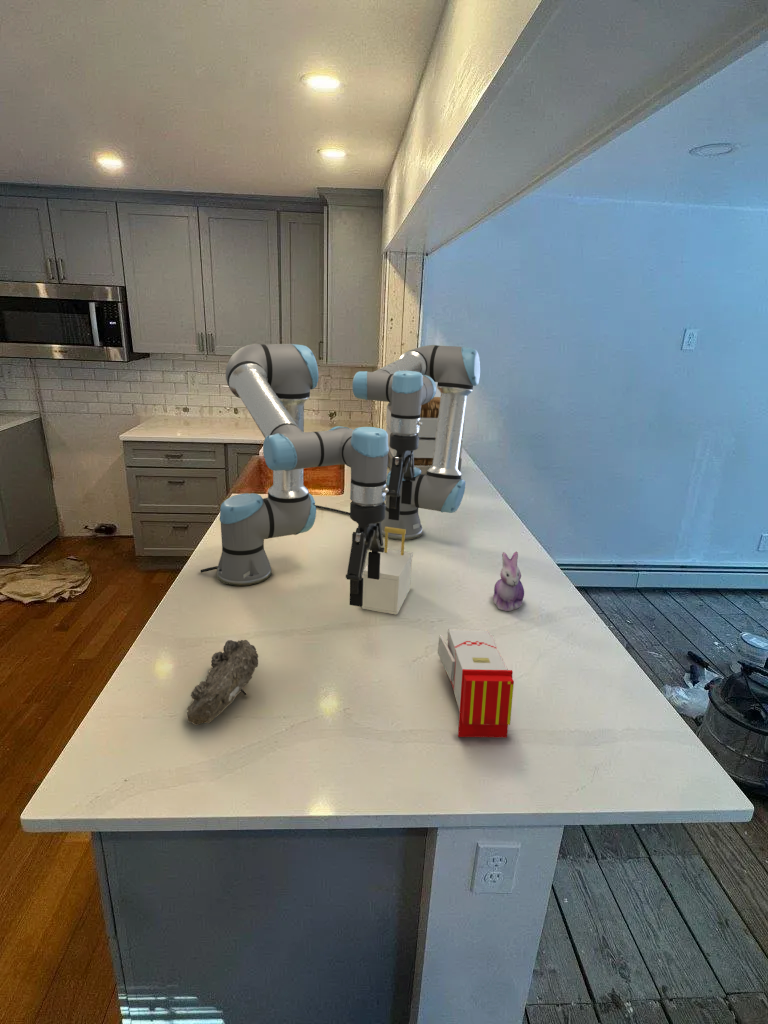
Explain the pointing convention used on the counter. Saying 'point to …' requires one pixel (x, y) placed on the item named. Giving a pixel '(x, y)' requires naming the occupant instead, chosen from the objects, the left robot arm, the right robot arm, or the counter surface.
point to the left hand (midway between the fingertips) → (365, 591)
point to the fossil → (223, 681)
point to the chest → (386, 592)
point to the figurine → (509, 585)
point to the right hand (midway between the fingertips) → (400, 511)
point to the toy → (478, 682)
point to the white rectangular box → (393, 558)
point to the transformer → (422, 434)
